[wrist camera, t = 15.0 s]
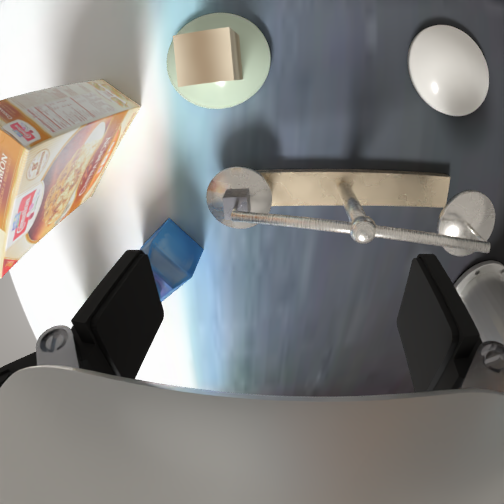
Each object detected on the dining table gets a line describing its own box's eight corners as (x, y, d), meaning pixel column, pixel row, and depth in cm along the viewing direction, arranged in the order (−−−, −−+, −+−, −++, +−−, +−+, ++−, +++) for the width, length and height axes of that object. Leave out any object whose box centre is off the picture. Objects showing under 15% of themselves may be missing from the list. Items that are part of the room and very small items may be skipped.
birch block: (239, 35, 26) (229, 26, 21) (242, 79, 29) (233, 80, 24) (191, 41, 27) (172, 35, 22) (195, 84, 29) (178, 87, 24)
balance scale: (457, 163, 31) (526, 215, 19) (449, 214, 35) (505, 281, 23) (210, 160, 35) (168, 213, 23) (217, 214, 39) (185, 289, 26)
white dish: (483, 37, 22) (487, 37, 21) (483, 120, 28) (487, 122, 27) (404, 17, 23) (407, 16, 22) (407, 108, 29) (410, 110, 28)
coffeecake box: (92, 197, 39) (1, 282, 22) (57, 169, 37) (-42, 239, 20) (144, 106, 32) (28, 150, 16) (102, 77, 30) (-24, 104, 14)
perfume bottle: (175, 273, 44) (147, 333, 34) (143, 244, 42) (105, 300, 32) (203, 249, 42) (178, 310, 31) (169, 217, 40) (131, 271, 29)
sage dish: (266, 9, 25) (266, 7, 24) (274, 104, 31) (273, 105, 30) (165, 23, 26) (162, 22, 26) (175, 113, 32) (172, 114, 31)
